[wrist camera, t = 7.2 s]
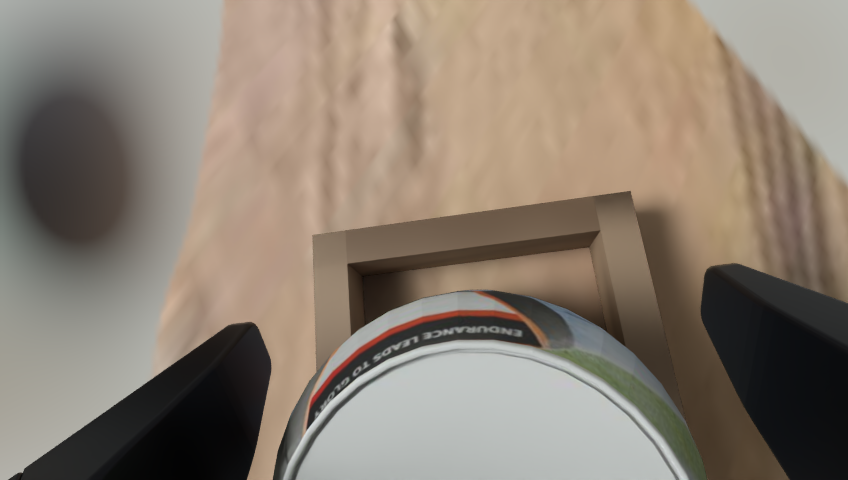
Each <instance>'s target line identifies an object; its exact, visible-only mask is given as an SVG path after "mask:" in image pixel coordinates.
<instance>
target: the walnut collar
mask: <svg viewBox="0 0 848 480" xmlns="http://www.w3.org/2000/svg"><path fill="white" fill-rule="evenodd" d="M585 247H590V252H591V257H592V262H593V267H594V272H595V277H596V281H597V286H598V291H599V296H600V301H601V306H602V310H603V315H604V320H605V325H606V330H607V333H608V334H610V335H611V336H612V337H614V338H615V339H616V340H617V341H619V342H620V343H621V344H622V345H624V346H625V347H626V348H628V349H629V350H630V351H631V352H633V353H634V354H635V355H636V357H637V358H638V359H639V360H640V361H641V362H642V363H643V364H644V365H645V366H646V367H647V369H648V370H649V371H650V372H651V373H652V374H653V375H654V376H655V377H656V378H657V379H658V381H659V382H660V383H661V384H662V386H663V387H664V389H665V390H666V392H667V393H668V395H669V396H670V398H671V399H672V401H673V403H674V404H675V406H676V407H677V409H678V410H679V412H680V413H681V415H682V416H683V418H684V419H685V415H684V411H683V406H682V402H681V398H680V394H679V390H678V386H677V382H676V377H675V373H674V369H673V365H672V361H671V357H670V353H669V348H668V344H667V340H666V336H665V332H664V328H663V324H662V320H661V315H660V311H659V307H658V303H657V299H656V295H655V291H654V286H653V282H652V278H651V274H650V270H649V266H648V262H647V257H646V253H645V249H644V245H643V241H642V237H641V233H640V229H639V224H638V220H637V216H636V212H635V208H634V204H633V200H632V195H631V191H627V192H620V193H613V194H606V195H598V196H591V197H584V198H577V199H570V200H562V201H555V202H548V203H541V204H533V205H526V206H519V207H512V208H505V209H497V210H490V211H483V212H476V213H469V214H461V215H454V216H447V217H440V218H432V219H425V220H418V221H411V222H404V223H396V224H389V225H382V226H375V227H368V228H360V229H353V230H346V231H339V232H331V233H324V234H317V235H313V269H314V302H315V336H316V369H317V371H318V370H319V369H320V367H321V366H322V365H323V364H324V362H325V361H326V360H327V359H328V357H329V356H330V355H331V354H332V353H333V352H334V351H335V350H336V349H337V348H338V347H340V346H341V345H342V344H343V343H344V342H345V341H346V340H348V339H349V338H350V337H351V336H352V335H353V334H354V333H356V332H357V331H358V330H359V329H360V328H362V327H364V326H365V315H364V299H363V282H362V276H367V275H375V274H382V273H390V272H398V271H406V270H414V269H421V268H429V267H437V266H445V265H453V264H460V263H468V262H476V261H484V260H492V259H499V258H507V257H515V256H523V255H530V254H538V253H546V252H554V251H562V250H569V249H577V248H585ZM685 421H686V419H685ZM686 424H687V423H686Z"/></svg>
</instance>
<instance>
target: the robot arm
mask: <svg viewBox="0 0 848 480" xmlns="http://www.w3.org/2000/svg"><path fill="white" fill-rule="evenodd" d="M701 318H702V321H703V324H704V326H705V328H706V330H707V332H708V334H709V337H710V339H711V341H712V343H713V345H714V347H715V349H716V351H717V353H718V355H719V357H720V359H721V361H722V363H723V365H724V367H725V370H726V372H727V374H728V376H729V378H730V380H731V382H732V384H733V386H734V388H735V390H736V392H737V394H738V396H739V398H740V400H741V402H742V404H743V406H744V407H745V409H746V411H747V413H748V414H749V416H750V418H751V419H752V421H753V423H754V424H755V426H756V427H757V429H758V430H759V432H760V434H761V435H762V437H763V438H764V440H765V441H766V443H767V445H768V446H769V448H770V449H771V451H772V453H773V454H774V456H775V457H776V459H777V460H778V462H779V464H780V465H781V467H782V468H783V470H784V471H785V473H786V475H787V476H788V478H789V479H790V480H848V303H846V302H843V301H840V300H837V299H834V298H832V297H829V296H826V295H823V294H821V293H818V292H815V291H812V290H810V289H807V288H804V287H801V286H799V285H796V284H793V283H790V282H787V281H785V280H782V279H779V278H776V277H774V276H771V275H768V274H765V273H763V272H760V271H757V270H754V269H751V268H749V267H746V266H743V265H740V264H736V263H731V264H723V265H715V266H710V267H709V268H708V269H707V270H706V272H705V276H704V284H703V292H702V301H701ZM270 375H271V359H270V356H269V354H268V351H267V349H266V346H265V344H264V341H263V339H262V336H261V334H260V331H259V329H258V327H257V326H256V325H255V324H254V323H252V322H245V323H237V324H231V325H228V326H227V327H225V328H224V329H222V330H221V331H220V332H218V333H217V334H215V335H214V336H213V337H211V338H210V339H208V340H207V341H205V342H204V343H203V344H201V345H200V346H198V347H197V348H195V349H194V350H193V351H191V352H190V353H188V354H187V355H185V356H184V357H183V358H181V359H180V360H178V361H177V362H175V363H174V364H173V365H171V366H170V367H168V368H167V369H166V370H164V371H163V372H161V373H160V374H158V375H157V376H156V377H154V378H153V379H151V380H150V381H148V382H147V383H146V384H144V385H143V386H142V387H140V388H139V389H137V390H136V391H134V392H133V393H131V394H130V395H128V396H127V397H126V398H124V399H123V400H121V401H120V402H119V403H117V404H116V405H114V406H113V407H111V408H110V409H109V410H107V411H106V412H105V413H103V414H102V415H100V416H99V417H97V418H96V419H94V420H93V421H92V422H90V423H89V424H87V425H86V426H84V427H83V428H82V429H80V430H79V431H77V432H76V433H74V434H73V435H72V436H70V437H69V438H67V439H66V440H64V441H63V442H62V443H60V444H59V445H58V446H56V447H55V448H53V449H52V450H50V451H49V452H47V453H46V454H44V455H43V456H42V457H40V458H39V459H37V460H36V461H35V462H33V463H32V464H30V465H29V466H27V467H26V468H25V469H24V471H23V473H17V474H16V475H14V476H13V477H11V478H10V479H9V480H247V477H248V474H249V471H250V467H251V464H252V460H253V457H254V453H255V449H256V445H257V441H258V436H259V431H260V426H261V421H262V416H263V410H264V405H265V400H266V395H267V390H268V385H269V380H270Z"/></svg>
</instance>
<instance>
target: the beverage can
mask: <svg viewBox="0 0 848 480" xmlns="http://www.w3.org/2000/svg"><path fill="white" fill-rule="evenodd" d="M273 480H707V477H706V473H705V469H704V464H703V461H702V458H701V456H700V454H699V451H698V449H697V447H696V444H695V442H694V440H693V437H692V435H691V433H690V431H689V428H688V426H687V424H686V421H685V419H684V418H683V416H682V415H681V413H680V412H679V410H678V409H677V407H676V406H675V404H674V403H673V401H672V399H671V398H670V396H669V395H668V393H667V392H666V390H665V389H664V387H663V386H662V384H661V383H660V382H659V381H658V379H657V378H656V377H655V376H654V375H653V374H652V373H651V372H650V371H649V370H648V369H647V367H646V366H645V365H644V364H643V363H642V362H641V361H640V360H639V359H638V358H637V357H636V355H635V354H634V353H633V352H631V351H630V350H629V349H628V348H626V347H625V346H624V345H622V344H621V343H620V342H619V341H617V340H616V339H615V338H614V337H612V336H611V335H610V334H608V333H607V332H606V331H605V330H603V329H602V328H601V327H599V326H597V325H595V324H593V323H592V322H590V321H588V320H586V319H584V318H582V317H581V316H579V315H577V314H575V313H573V312H571V311H570V310H568V309H566V308H563V307H560V306H557V305H554V304H551V303H548V302H545V301H542V300H539V299H536V298H533V297H530V296H524V295H518V294H511V293H505V292H499V291H493V290H465V291H457V292H451V293H446V294H441V295H436V296H431V297H425V298H422V299H419V300H416V301H414V302H411V303H408V304H406V305H403V306H401V307H398V308H395V309H393V310H390V311H388V312H387V313H385V314H384V315H382V316H380V317H379V318H377V319H375V320H374V321H372V322H370V323H369V324H367V325H365V326H364V327H362V328H360V329H359V330H358V331H357V332H356V333H354V334H353V335H352V336H351V337H350V338H349V339H348V340H346V341H345V342H344V343H343V344H342V345H341V346H340V347H338V348H337V349H336V350H335V351H334V352H333V353H332V354H331V355H330V356H329V357H328V359H327V360H326V361H325V362H324V364H323V365H322V366H321V367H320V369H319V370H318V371H317V372H316V374H315V375H314V376H313V377H312V379H311V380H310V381H309V383H308V385H307V386H306V388H305V390H304V392H303V394H302V395H301V397H300V399H299V401H298V403H297V404H296V406H295V408H294V410H293V412H292V413H291V416H290V418H289V421H288V424H287V427H286V430H285V432H284V435H283V438H282V441H281V444H280V447H279V449H278V453H277V459H276V465H275V470H274V476H273Z"/></svg>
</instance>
